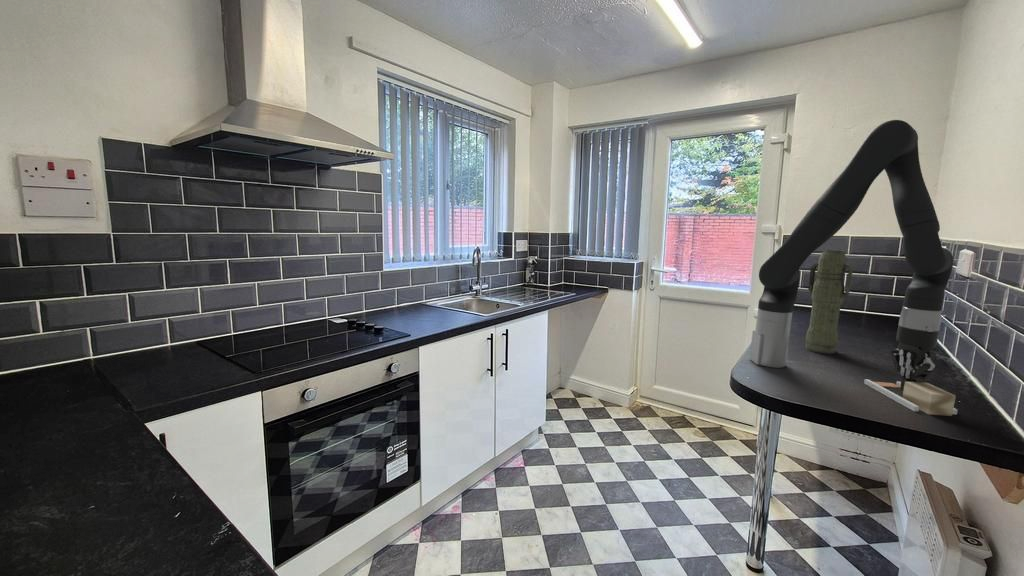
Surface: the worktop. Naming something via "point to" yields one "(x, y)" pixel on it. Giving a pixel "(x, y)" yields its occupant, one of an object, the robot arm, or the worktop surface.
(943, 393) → the beech block
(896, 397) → the channel
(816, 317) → the thermos
